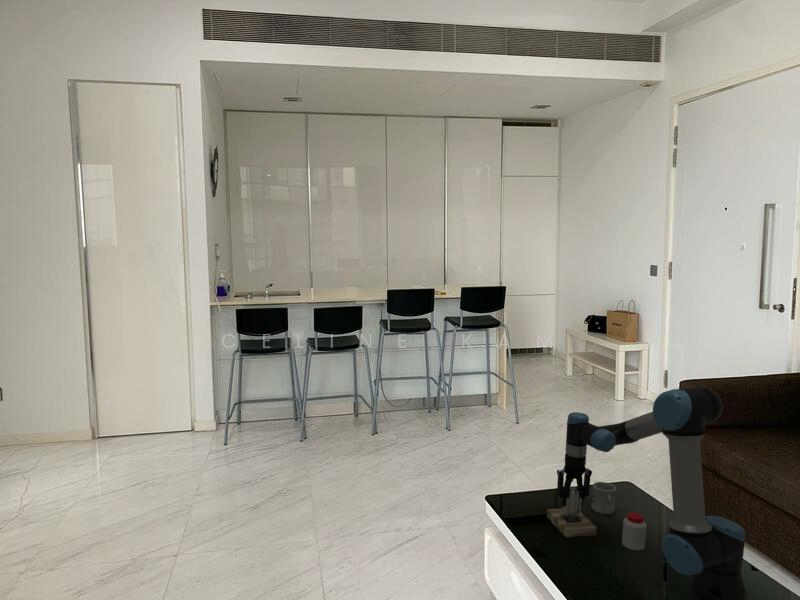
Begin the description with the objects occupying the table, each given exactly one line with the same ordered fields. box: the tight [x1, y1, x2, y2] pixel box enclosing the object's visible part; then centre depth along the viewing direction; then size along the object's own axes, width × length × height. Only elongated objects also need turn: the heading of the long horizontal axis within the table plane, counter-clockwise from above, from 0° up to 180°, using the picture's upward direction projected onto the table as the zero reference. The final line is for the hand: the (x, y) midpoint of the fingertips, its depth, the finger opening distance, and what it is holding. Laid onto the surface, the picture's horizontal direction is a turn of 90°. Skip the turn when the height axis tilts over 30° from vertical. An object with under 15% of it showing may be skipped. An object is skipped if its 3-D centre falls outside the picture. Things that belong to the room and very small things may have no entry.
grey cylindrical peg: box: [565, 486, 580, 523], centre depth 225 cm, size 5×5×14 cm
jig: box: [546, 507, 598, 538], centre depth 225 cm, size 16×12×3 cm
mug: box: [590, 481, 617, 515], centre depth 237 cm, size 12×9×10 cm
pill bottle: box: [621, 511, 648, 551], centre depth 212 cm, size 8×8×11 cm
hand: (571, 513), depth 225 cm, fingers closed on grey cylindrical peg, 4 cm apart
